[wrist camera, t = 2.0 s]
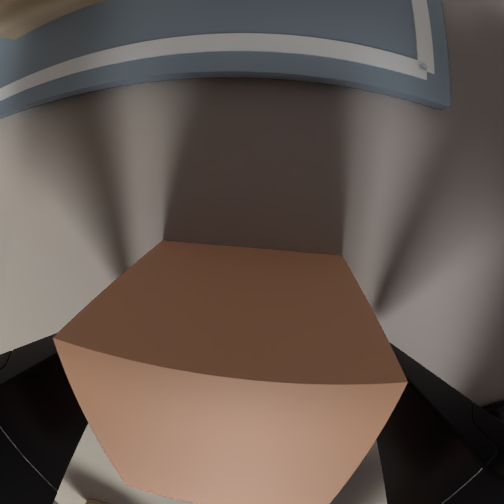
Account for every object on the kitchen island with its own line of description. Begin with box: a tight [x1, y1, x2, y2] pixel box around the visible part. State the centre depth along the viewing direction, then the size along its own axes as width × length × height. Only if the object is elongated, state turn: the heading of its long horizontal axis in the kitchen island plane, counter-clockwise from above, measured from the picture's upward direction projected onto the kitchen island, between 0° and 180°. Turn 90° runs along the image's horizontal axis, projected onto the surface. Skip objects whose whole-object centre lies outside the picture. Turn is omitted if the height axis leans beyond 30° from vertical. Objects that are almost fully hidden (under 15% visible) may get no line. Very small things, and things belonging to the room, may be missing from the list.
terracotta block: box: [53, 240, 408, 504], centre depth 6 cm, size 5×5×5 cm
